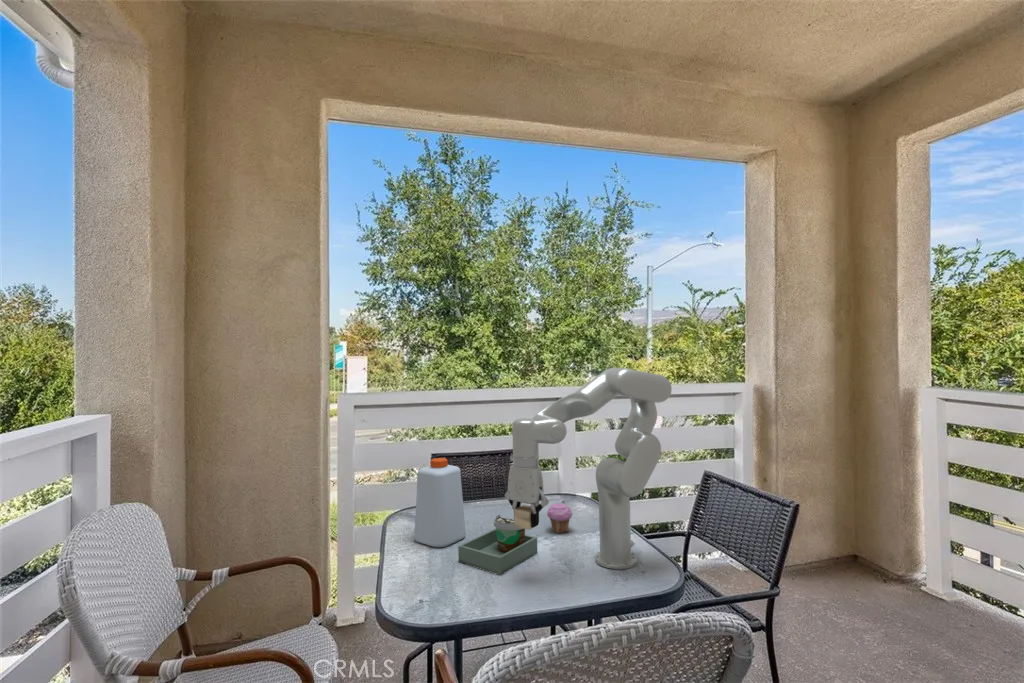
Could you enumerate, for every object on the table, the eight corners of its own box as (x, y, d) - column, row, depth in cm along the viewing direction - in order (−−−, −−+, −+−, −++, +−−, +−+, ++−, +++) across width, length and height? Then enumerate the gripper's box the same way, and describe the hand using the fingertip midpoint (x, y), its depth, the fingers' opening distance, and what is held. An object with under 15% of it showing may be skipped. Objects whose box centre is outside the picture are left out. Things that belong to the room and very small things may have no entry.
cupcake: (554, 537, 178) (554, 508, 179) (543, 529, 186) (542, 502, 186) (576, 533, 182) (576, 505, 182) (564, 525, 190) (563, 498, 190)
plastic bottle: (470, 536, 180) (469, 457, 181) (440, 550, 168) (439, 466, 168) (439, 528, 189) (438, 453, 190) (409, 541, 177) (408, 461, 177)
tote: (497, 542, 174) (497, 527, 175) (537, 553, 165) (537, 537, 165) (458, 561, 159) (458, 545, 159) (500, 575, 149) (500, 557, 149)
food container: (486, 549, 166) (485, 518, 167) (499, 543, 171) (498, 513, 171) (514, 558, 158) (514, 526, 158) (527, 552, 163) (526, 521, 163)
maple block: (524, 521, 150) (523, 504, 151) (538, 524, 148) (538, 507, 148) (514, 526, 146) (514, 509, 146) (529, 529, 144) (528, 512, 144)
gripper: (494, 460, 149) (495, 522, 149) (544, 467, 139) (544, 534, 139) (509, 456, 155) (509, 515, 155) (557, 462, 146) (558, 526, 145)
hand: (526, 523), depth 147 cm, fingers closed on maple block, 5 cm apart
